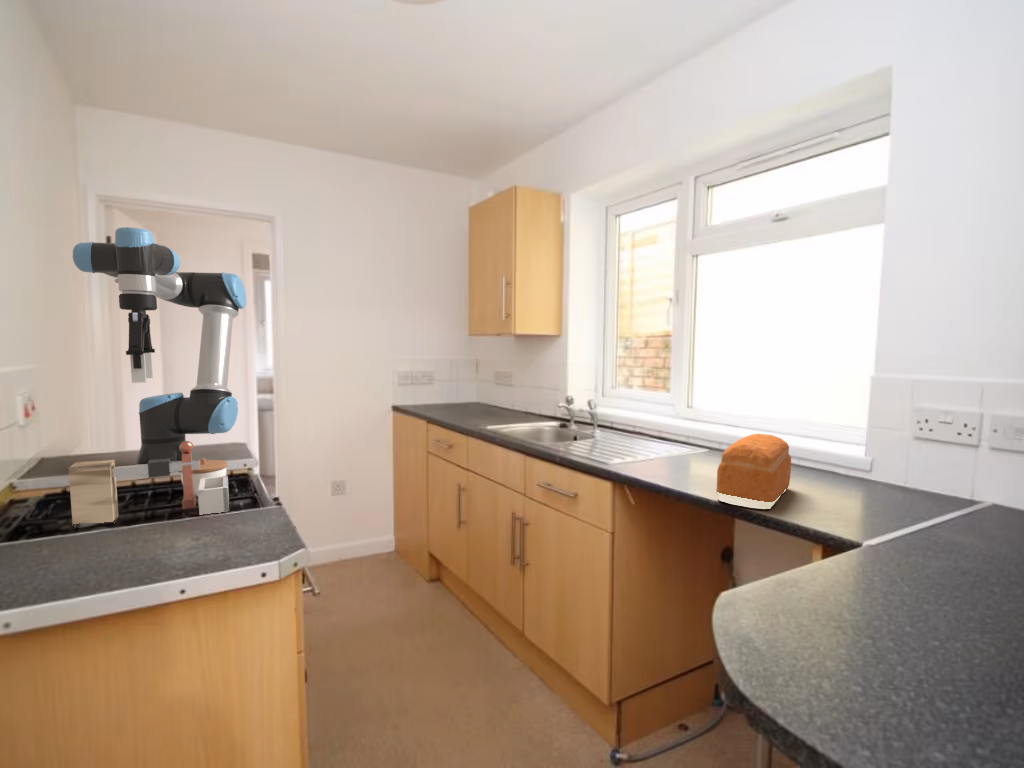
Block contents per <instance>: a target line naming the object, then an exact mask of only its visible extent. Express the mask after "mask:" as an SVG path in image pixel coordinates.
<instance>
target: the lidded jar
mask: <svg viewBox="0 0 1024 768" xmlns="http://www.w3.org/2000/svg"><path fill="white" fill-rule="evenodd" d="M227 465H228V464H227V461H225V460H221V459H206V457H205V458H204V457H203V458H202V457H201V458H200V469H194V470H193V487H194V495H196V497H198V489H199V484H200V478H209V477H218V476H227V470H228V469H227ZM179 472H180V480H181V485H183V472H182V471H179Z"/></svg>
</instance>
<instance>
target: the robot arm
mask: <svg viewBox="0 0 1024 768" xmlns="http://www.w3.org/2000/svg"><path fill="white" fill-rule="evenodd" d="M114 233H115V235H114V242H94V241H91V242H90V241H89V242H78V243H76V245H75V246H74V247H73V248H72V249H73V250H72V259H73V263H74V265H75V266H76V268H77V269H78V270H80V271H81V272H84V273H92V274H103V275H107V276H110V277H113V278H115V279H114V282H115V283H117V284H118V285H117V286H118V292H120V293H119V295H118V305H119V309H120V310H124V311H125V310H126V311H131V312H128V314H127V315H128V318H127V319H128V320H127V321H128V348H127V350H125V354H126V356H129V357H130V375H131V383H132V384H133V383H134V384H135V383H136V384H139V383H147V379H154V371H153V369H154V368H153V354H152V353H156V350H155V349H156V348H153V345H152V337H151V336H152V335H151V326H150V325H151V318H150V316H149V314H147V311H156V310H157V309H158V303H157V301H158V300H157V298H158V299H160V300H163V301H166V302H169V303H172V304H175V305H178V306H183V307H187V308H197V309H198V311H199V313H200V314H202V322H201V323H202V324H201V325H202V326H201V336H200V346H199V347H200V348H199V356H198V367H197V377H196V386H194V387H193V388H192V389H190V390H189V391H190V393H189V397H186V396H185V395H184V393H183V392H172V393H166V394H161V395H159V394H158V395H153V396H148V397H144V398H142V399H141V400H140V402H139V405H138V415H139V428H140V438H141V439H140V443H141V446H140V449H139V452H138V455H137V458H136V461H135V465H136V464H137V465H141V464H148V462H149V460H156V459H167V458H170V462H173V461H182V451H180V448H179V446H180V444H181V443H182V442H184V441H187V440H186V435H201V434H204V435H205V434H206V435H207V434H209V435H216V434H225V433H228V432H229V431H230V430H232V428H233V427H234V426H235V424H236V421H237V417H238V413H239V407H238V401H237V398H235V397H234V396H232V395H233V393H232V391H231V390H230V389H229V388H228V381H229V380H228V379H229V367H230V355H231V346H232V345H231V343H232V332H233V319H235V318H236V317H238V316H239V309H240V310H242V309H244V308H245V307H246V306H247V295H246V289H245V286H244V283H243V281H242V279H241V277H239V276H238V274H236V273H227V272H195V271H194V272H193V271H191V272H185V271H184V272H181V271H178V270H179V268H180V266H181V260H180V257H179V255H178V254H177V252H176V251H174V250H173V249H171V248H169V247H168V246H166V245H160V244H158V243H155V240H154V236H153V232H152V231H150V230H148V229H144V228H139V227H138V228H137V227H128V226H127V227H125V226H123V227H119V228H116V229H115V232H114ZM192 458H193V459H194V457H193V456H192Z"/></svg>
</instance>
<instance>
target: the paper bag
mask: <svg viewBox="0 0 1024 768" xmlns="http://www.w3.org/2000/svg"><path fill="white" fill-rule="evenodd" d="M111 467H116V461H115V458H108V459H97V460H85V461H75V462H74V463H72V465H70V466H69V467H68V479H69V481H68V482H69V490H70V491H69V493H70V506H71V507H70V509H71V520H72V525H73V524H79V523H104V522H113V521H114V520H115V519H116V518H117V519H118V518H119V507H118V506H119V505H118V504H119V503H118V491H117V477H115V478H112V472H111ZM117 519H116V520H117Z"/></svg>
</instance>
